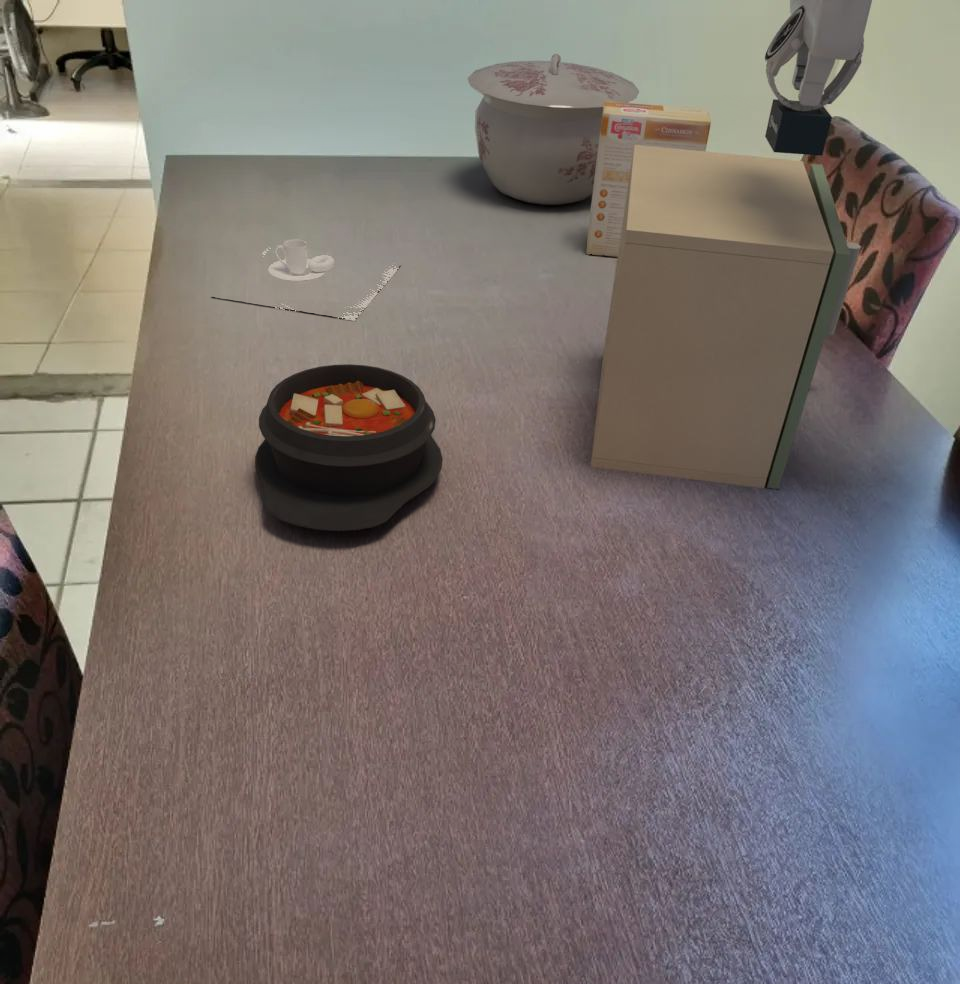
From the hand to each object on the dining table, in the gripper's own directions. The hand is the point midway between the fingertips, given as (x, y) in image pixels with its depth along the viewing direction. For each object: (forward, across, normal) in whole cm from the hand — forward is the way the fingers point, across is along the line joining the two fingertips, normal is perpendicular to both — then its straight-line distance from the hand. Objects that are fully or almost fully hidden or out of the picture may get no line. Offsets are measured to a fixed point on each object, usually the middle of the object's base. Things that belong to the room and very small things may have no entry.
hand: (804, 96), depth 86 cm
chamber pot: (+34, +75, +27) cm, 87 cm away
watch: (+4, 0, 0) cm, 4 cm away
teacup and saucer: (+34, +28, +55) cm, 70 cm away
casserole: (+34, -18, +38) cm, 54 cm away
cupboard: (+34, +2, +5) cm, 34 cm away
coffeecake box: (+34, +52, +11) cm, 63 cm away
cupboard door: (+34, +2, -8) cm, 34 cm away
